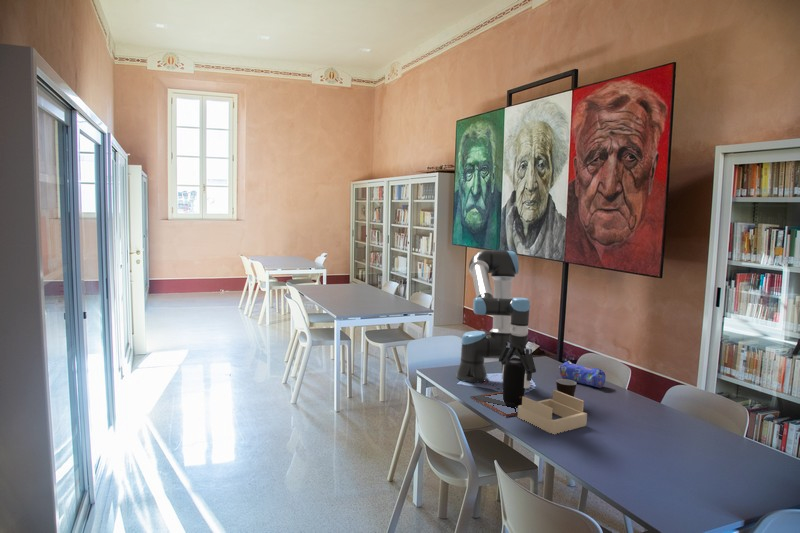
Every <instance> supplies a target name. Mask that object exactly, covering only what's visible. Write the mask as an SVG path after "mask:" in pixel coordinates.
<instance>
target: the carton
mask: <svg viewBox="0 0 800 533" xmlns="http://www.w3.org/2000/svg"><path fill="white" fill-rule="evenodd" d="M584 403H585V401H584V400H583V399H580V398H577V397H575V396H574V397H572V396H570V395H567V394H564V393H562V392H559V391H557V389H553V391H552V398H546V399H543V400H539V401H537V400H534V399H531V398H529V397H526V396H525V395H524V396H523V397H522V405H519V406H518V415H517V416H516V417H518V419H519V418H520V420H521V419H522V420H521V421H524V420H525V421H524V422H526V421H527V422H526V423H528V422H529V423H528V424H530V423H531V424H530V425H532V424H533V425H532V426H534V425H535V426H534V427H536V426H537V427H536V428H538V427H539V428H538V429H540V428H541V430H542V431H545V432H547V433H549V434H551V433H552V435H553V434H554V435H557V433H558V434H561V433H565V432H567V431H568V430H569V431H571V430H575V429H579V428H582V427H583V428H584V427H586V426H587V422H588V421H587V419H588V413H587V412H584V406H585V404H584ZM553 414H555V415H557V416H559V417H561V418H557V419H553ZM564 431H565V432H564ZM560 432H561V433H560Z"/></svg>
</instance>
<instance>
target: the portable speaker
mask: <svg viewBox="0 0 800 533" xmlns="http://www.w3.org/2000/svg"><path fill="white" fill-rule="evenodd" d="M525 373H526V370H525V368H524V365H523V363H522V361H521V359H520V358H519V357H512V358H511V359H506V364H505V368H504V372H503V379H502V392H503V400H504V402H505V404H506V406H509V407H515V406H516V405H522V397H523V396H524V397H525V392H526V388H524V379H525Z"/></svg>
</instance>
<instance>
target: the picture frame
mask: <svg viewBox="0 0 800 533" xmlns="http://www.w3.org/2000/svg"><path fill="white" fill-rule="evenodd" d="M497 394H503V391H498V392H497V391H496V392H490V393H484V394H479V395H471V396H470V399H471V398H472V399H471V400H473V399H474V400H473V401H475V400H476V401H475V402H477V401H478V402H477V403H479V402H480V403H482V404H484V405H485V407H486V406H487V407H486V408H488V407H489V408H488V409H490V408H491V409H493V410H494V412H495V411H496V413H497V412H498V413H497V414H499V413H500V414H499V415H501V414H502V415H503V416H502V415H501V416H502V417H504V416H506V417H508V418H510V417H509V416H513V417H517V416H516V415H518V412H516V408H518V406H519V405H516V406H515V407H516V408H515V407H511V408H514V409H515V412H516V413H511V414H506V413H504V412H502V411H500V410H498V409H497V408H495V407H493V406H494V405H493V406H491V405H489V404H487V403H486V402H488V403H493V404H497V405H502V406H506V404H505V402H503V401H500V400H496V399H492V398H489V397H485V396H491V395H497ZM480 403H479V404H480ZM482 404H481V405H482ZM484 405H483V406H484ZM507 407H509V406H507ZM491 409H490V410H491ZM493 410H492V411H493ZM506 417H505V418H506Z"/></svg>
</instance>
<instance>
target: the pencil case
mask: <svg viewBox="0 0 800 533" xmlns="http://www.w3.org/2000/svg"><path fill="white" fill-rule="evenodd" d="M558 369H559V374H560V376H561V379H568V380H572V381H575V382H576V383H578V384H580V385H585V386H591V387H594V388H598V389H601V388H603V387H604V385H605V383H606V372H605V371H603V370H602V369H600V368H597V367H594V368H593V367H587V366H583V365H580V364H577V363H572V362H571V361H570V360H566V361H564V362H563V364H560V365H559V366H558Z"/></svg>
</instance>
